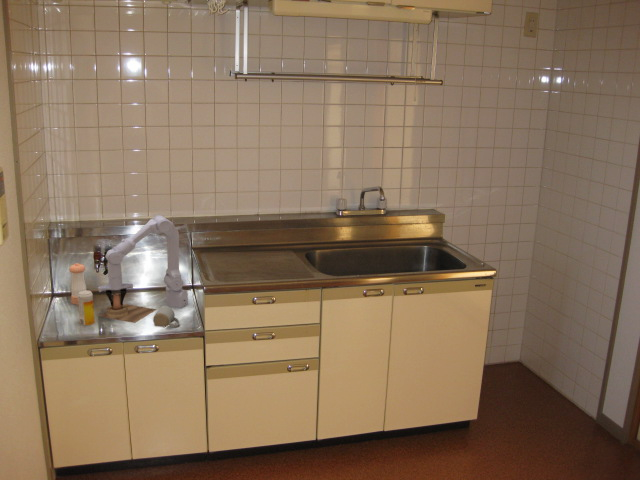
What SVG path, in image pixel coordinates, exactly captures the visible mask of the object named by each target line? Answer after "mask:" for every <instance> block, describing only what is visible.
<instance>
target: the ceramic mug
mask: <svg viewBox="0 0 640 480" xmlns="http://www.w3.org/2000/svg"><path fill="white" fill-rule="evenodd" d="M175 315H176V314H175V311H174V309H173V307H168V306H167V305H162V306H160V307H159V308H158V309H157V310H156V312H155V314H154V316H153V319H152V321H153V324H154V325H155V326H156V327H164V328H166V327H168V326H169V327H171V328H178V327H179V325H180V323H181V322H180V320H179V319H178V318H177V317H175ZM172 321H174V322H176V323H175V324H174V323H172Z"/></svg>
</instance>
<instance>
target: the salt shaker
mask: <svg viewBox="0 0 640 480" xmlns="http://www.w3.org/2000/svg"><path fill="white" fill-rule="evenodd" d="M68 268H69V269H68V270H69V272H70V274H71V285H70V286H71V288H70V289H71V297H70V301H71V304H72V305H76V306H79V305H78V294H79V292H80V291H85V290H87V285H86V281H85V274H84V273H85V270H86V267H85V265H84V264H80V263H79V262H76V263H74V264H72V265H70V267H68Z"/></svg>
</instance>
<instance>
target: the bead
mask: <svg viewBox="0 0 640 480" xmlns="http://www.w3.org/2000/svg"><path fill="white" fill-rule="evenodd" d="M124 304H125V303H123V305H122V306H121V309H120V310H113V306H111V304H110V305H109V306H106V310H105V312H107V316H108V317H111V318H119V317H124V316H126V315H127V314H128V307H127V305H124Z"/></svg>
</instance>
